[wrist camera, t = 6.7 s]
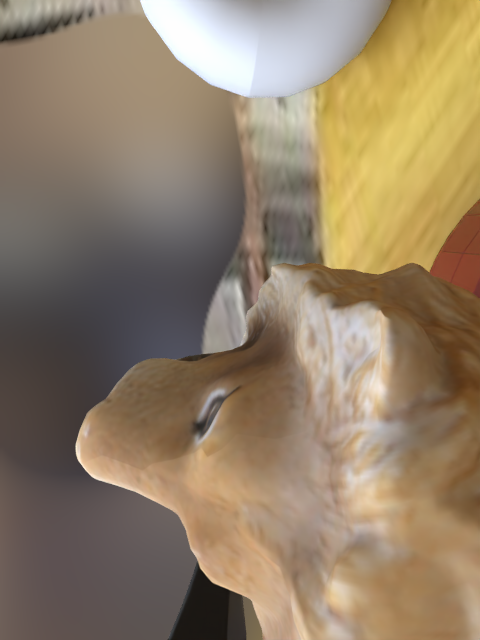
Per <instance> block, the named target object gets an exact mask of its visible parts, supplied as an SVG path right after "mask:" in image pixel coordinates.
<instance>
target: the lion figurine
mask: <svg viewBox="0 0 480 640" xmlns="http://www.w3.org/2000/svg"><path fill="white" fill-rule="evenodd" d="M271 270H272V275H271V276H270V278H269V279H268V280H267V281H266V282H265V283H264V284H263V286H262V287H261V289H260V291H259V297H258V302H257V303H256V304H255V305H254V306H253V307H252V308H250V309H249V310H248V312H247V317H246V327H247V328H246V332H245V334H244V337H243V339H242V342H241V345H240V347H238V348H235V349H233V350H229V351H224V352H218V353H212V354H201V355H194V356H188V357H185V358H181V359H177V360H172V359H166V358H165V359H164V358H162V359H148V360H145V361H142V362H139V363H138V364H137V365H135V366H134V367H133V368H132V369H130V370H129V371H128V372H127V373H126V374H125V375H124V376H123V378H121V380H120V381H119V382H118V383H117V384H116V386H115V387H114V389H113V390H112V391H111V393H110V394H109V396H108V397H107V398H106V399H105V400H103V401H102V402H100V403H99V404H97V405H96V406H95V407H94V408H92V409H91V410H90V411H89V412H88V413H87V415H86V417H85V420H84V422H83V424H82V426H81V428H80V432H79V436H78V439H77V443H76V454H77V458H78V460H79V462H80V463H81V465H82V466H83V467H84V469H85V470H86V471H87V472H88V473H89V474H90V475H91V476H92V477H93V478H95V479H97V480H101V481H104V482H107V483H111V484H114V485H117V486H120V487H123V488H126V489H129V490H132V491H135V492H137V493H139V494H141V495H143V496H145V497H147V498H149V499H151V500H153V501H155V502H157V503H159V504H161V505H163V506H165V507H167V508H169V509H171V510H172V511H174V512H175V513H176V514H178V516H179V518H180V519H181V521H182V523H183V525H184V527H185V529H186V532H187V536H188V540H189V544H190V548H191V550H192V551H193V553H194V554H195V556H196V557H197V559H198V563H199V566H200V569H201V570H202V571H203V572H204V573H205V575H206V576H207V577H208V578H209V579H210V580H211V582H212V583H214V584H217V585H219V586H221V587H224V588H226V589H229V590H231V591H233V592H236V593H238V594H241V595H243V596H245V597H248V598H249V599H251V600H252V603H253V606H254V609H255V612H256V614H257V617H258V620H259V622H260V625H261V628H262V631H263V633H262V634H263V640H480V298H478V297H477V296H476V295H474V294H473V293H472V292H470V291H468V290H466V289H464V288H461V287H459V286H456V285H454V284H452V283H450V282H448V281H446V280H444V279H442V278H439V277H435V276H432V275H431V274H430V273H429V272H428V271H426V270H425V269H424V268H423V267H421V266H420V265H418V264H414V263H410V264H406V265H404V266H402V267H400V268H398V269H395V270H392V271H389V272H386V273H383V274H379V275H377V274H369V273H363V272H359V271H356V270H346V269H331V268H328V267H326V266H323V265H321V264H313V263H308V264H304V265H299V266H295V265H291V264H286V263H282V264H278V265H274V266H273V267H271Z"/></svg>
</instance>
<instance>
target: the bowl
mask: <svg viewBox="0 0 480 640" xmlns="http://www.w3.org/2000/svg"><path fill="white" fill-rule="evenodd" d="M430 274H431V275H432V276H435V277H439V278H442V279H444V280H446V281H448V282H450V283H452V284H454V285H456V286H459V287H461V288H464V289H466V290H468V291H470V292H472V293H473V294H474V295H476V296H477V297H478V298H480V199H479V200H478V201H477V202H476V204H475V205H474V206H473V207H472V208H471V209H470V210H469V211H468V212H467V213H466V214H465V215H464V216H463V218H462V219H461V220H460V222H459V223H458V224H457V226H456V227H455V228H454V230H453V231H452V232H451V234H450V235H449V236H448V238H447V240H446V242H445V243H444V245H443V247H442V248H441V250H440V252H439V254H438V255H437V257H436V259H435V261H434V264H433V266H432V268H431V271H430Z"/></svg>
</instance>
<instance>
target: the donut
mask: <svg viewBox="0 0 480 640" xmlns="http://www.w3.org/2000/svg"><path fill="white" fill-rule="evenodd" d="M140 1H141V4H142V7H143V9H144V12H145V15H146V16H147V18H148V20H149V21H150V23H151V24H152V25H153V27H154V28H155V30H156V31H157V32H158V34H159V35H160V36H161V38H162V39H163V41H164V42H165V43H166V45H167V46H168V47H169V49H170V50H171V52H172V53H173V55H174V56H175V57H176V58H177V59H178V60H179V61H180V62H182V63H183V64H184V65H185V66H187V67H188V68H189V69H191V70H192V71H194V72H195V73H196V74H197V75H198V76H200V77H201V78H202V79H204V80H205V81H206V82H208V83H209V84H210V85H213V86H216V87H219V88H222V89H225V90H228V91H231V92H234V93H236V94H239V95H242V96H245V97H288V96H290V95H293V94H296V93H298V92H301V91H304V90H306V89H309V88H312V87H314V86H317V85H320V84H322V83H324V82H326V81H327V80H328V79H330V78H331V77H332V76H333V75H335V74H336V73H337V72H338V71H339V70H341V69H342V68H343V67H344V66H345V65H347V64H348V63H349V62H350V61H351V60H353V59H354V58H355V57H356V56H357V55H359V54H360V53H361V51H362V50H363V48H364V47H365V45H366V44H367V42H368V41H369V39H370V37H371V36H372V34H373V33H374V31H375V30H376V28H377V27H378V25H379V24H380V22H381V21H382V19H383V18H384V16H385V14H386V12H387V10H388V8H389V6H390V3H391V0H140Z"/></svg>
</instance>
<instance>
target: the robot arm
mask: <svg viewBox="0 0 480 640" xmlns="http://www.w3.org/2000/svg"><path fill="white" fill-rule="evenodd" d="M168 640H246V627H245V617H244V608H243V598H242V595H241V594H238V593H236V592H233V591H231V590H229V589H226V588H224V587H221V586H219V585H217V584H214V583H212V582H211V580H210V579H209V578H208V577H207V576H206V575H205V573H204V572H203V571H202V570H201V569H200V566H199V563H198V561H197V564H196V567H195V570H194V574H193V577H192V579H191V582H190V585H189V588H188V590H187V594H186V596H185V599H184V602H183V604H182V607H181V609H180V612H179V614H178V617H177V619H176V621H175V624H174V626H173V629H172V631H171V634H170V636H169V638H168Z"/></svg>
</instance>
